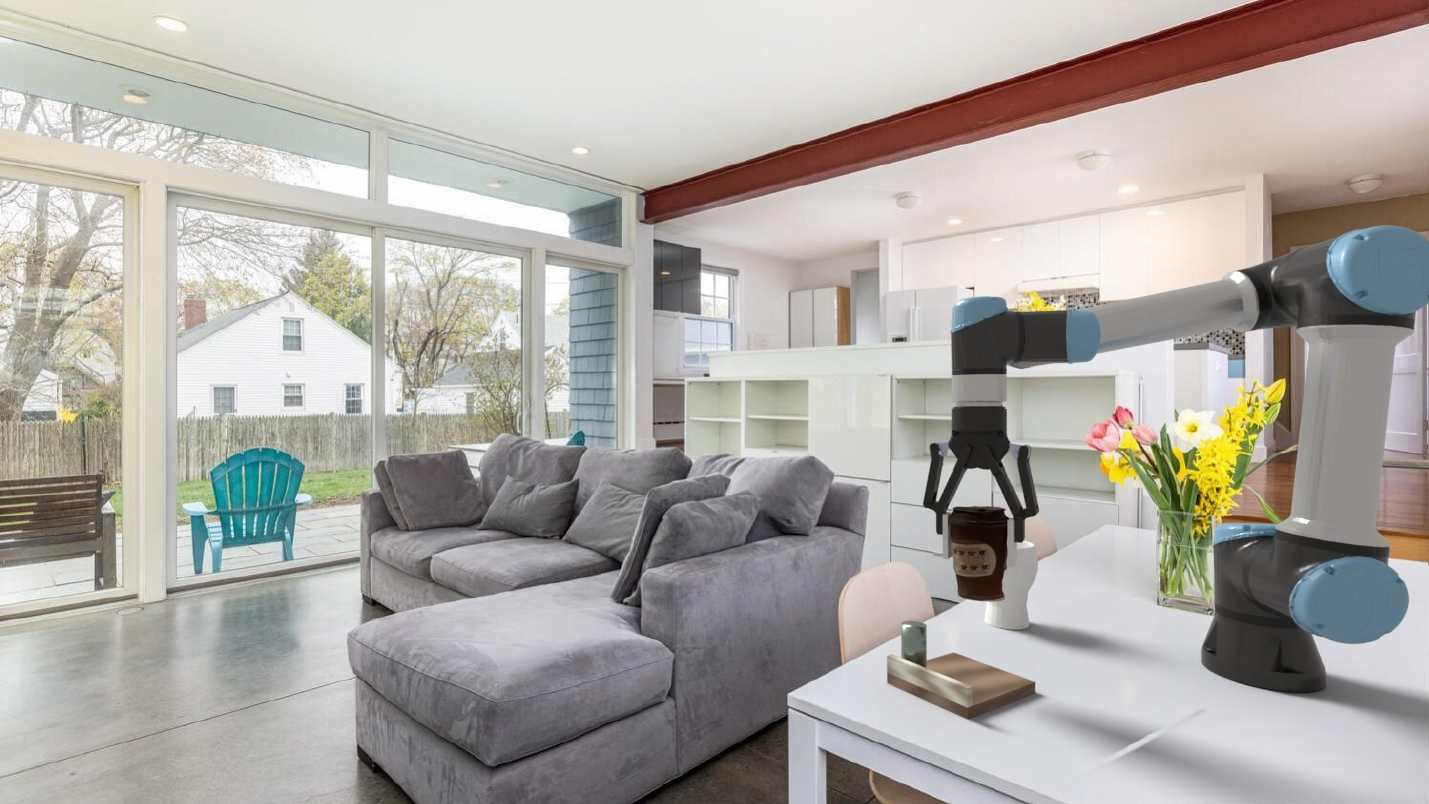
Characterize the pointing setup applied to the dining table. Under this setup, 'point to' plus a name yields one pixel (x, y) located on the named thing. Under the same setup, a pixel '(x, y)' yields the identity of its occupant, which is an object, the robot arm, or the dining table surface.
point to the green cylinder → (914, 642)
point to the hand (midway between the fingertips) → (979, 560)
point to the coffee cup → (979, 551)
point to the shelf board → (958, 683)
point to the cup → (1015, 591)
